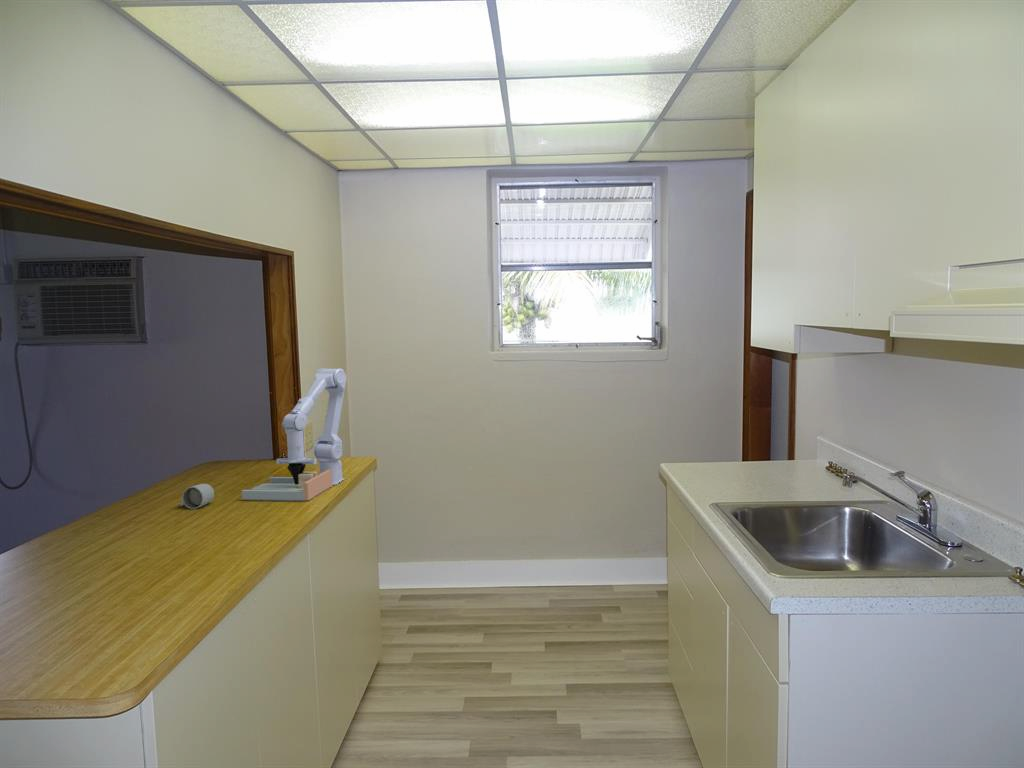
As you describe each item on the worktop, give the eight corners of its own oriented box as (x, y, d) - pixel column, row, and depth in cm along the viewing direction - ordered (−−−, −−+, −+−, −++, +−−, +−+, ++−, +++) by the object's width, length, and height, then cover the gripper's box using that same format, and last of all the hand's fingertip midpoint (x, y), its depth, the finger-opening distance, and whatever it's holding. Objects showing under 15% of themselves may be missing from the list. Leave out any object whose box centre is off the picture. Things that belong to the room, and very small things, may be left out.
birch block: (305, 485, 248) (304, 471, 248) (318, 485, 248) (317, 471, 247) (299, 488, 243) (298, 474, 243) (312, 488, 243) (311, 474, 242)
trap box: (271, 485, 259) (270, 469, 258) (332, 486, 255) (331, 469, 255) (242, 500, 238) (241, 482, 238) (308, 501, 235) (307, 483, 234)
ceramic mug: (217, 502, 237) (215, 481, 236) (203, 509, 228) (201, 486, 228) (188, 503, 238) (186, 481, 237) (174, 509, 230) (172, 487, 229)
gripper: (271, 448, 242) (273, 486, 243) (309, 449, 240) (311, 486, 241) (280, 445, 249) (282, 481, 250) (318, 445, 247) (320, 482, 248)
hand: (297, 483), depth 246 cm, fingers closed
